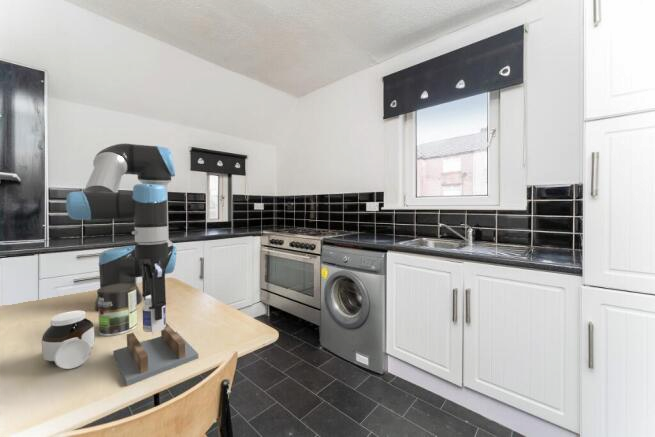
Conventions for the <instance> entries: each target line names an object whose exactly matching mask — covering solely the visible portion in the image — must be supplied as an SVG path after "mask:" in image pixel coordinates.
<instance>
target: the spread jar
mask: <svg viewBox="0 0 655 437" xmlns="http://www.w3.org/2000/svg"><path fill="white" fill-rule="evenodd" d="M94 344H95V326H94V323H93V322H92V321H91V320H90V319H88V318H86V311H84V310H71V311H65V312H61V313H59V314H56V315H53V316H52V317H51V318H50V326H49V327H48V328H47V329H46V330H45V332H43V334H42V339H41V354H42V358H43V360H44V361H46V362H47V363H49V364H53V365H56V366H57V367H58V368H61V369H65V370H71V369H75V368H78V367H79V366H81V365H84V363H85V362H86V361H87V360H88V359H89V357H90V355H91V352H92V349H93V346H94Z"/></svg>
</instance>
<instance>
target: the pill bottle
mask: <svg viewBox="0 0 655 437" xmlns="http://www.w3.org/2000/svg"><path fill="white" fill-rule="evenodd" d="M145 303H146V304H145ZM149 307H152V301H151V295H148V296H146V297H145V300H144V305H143V306H142V329H143V332H146V333H152V332H151V309H150V310H149ZM166 313H167V312H166V306H163V315H164V327H165V326H166V323H167V320H166Z"/></svg>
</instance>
